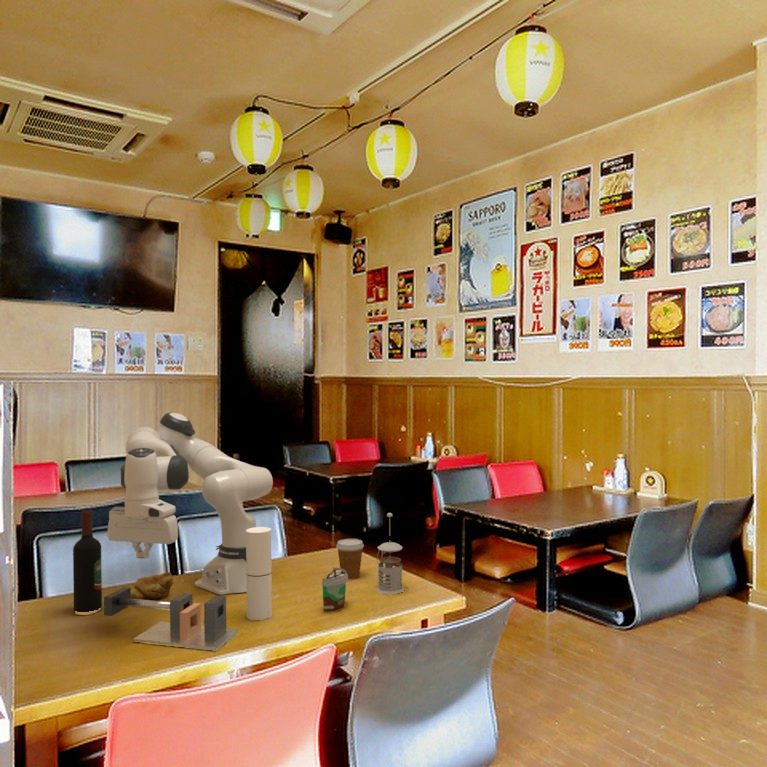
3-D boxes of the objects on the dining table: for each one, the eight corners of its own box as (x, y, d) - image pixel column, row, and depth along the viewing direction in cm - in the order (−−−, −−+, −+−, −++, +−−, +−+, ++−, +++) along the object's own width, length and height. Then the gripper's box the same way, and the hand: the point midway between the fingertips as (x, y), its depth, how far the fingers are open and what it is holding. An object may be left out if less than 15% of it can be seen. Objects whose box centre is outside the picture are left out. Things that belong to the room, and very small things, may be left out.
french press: (384, 596, 196) (384, 517, 196) (367, 586, 206) (366, 510, 206) (411, 591, 201) (410, 513, 200) (392, 581, 211) (391, 507, 211)
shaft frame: (133, 642, 163) (132, 601, 163) (160, 625, 175) (160, 586, 174) (216, 651, 157) (215, 608, 157) (238, 632, 169) (238, 592, 169)
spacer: (180, 639, 162) (179, 612, 162) (194, 628, 169) (194, 603, 169) (186, 640, 162) (186, 613, 162) (201, 629, 169) (200, 603, 169)
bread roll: (132, 606, 189) (132, 580, 189) (124, 597, 197) (124, 572, 197) (175, 597, 197) (175, 572, 197) (166, 589, 205) (166, 565, 205)
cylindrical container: (250, 622, 176) (249, 533, 176) (244, 614, 182) (243, 528, 182) (275, 617, 179) (274, 530, 179) (267, 609, 186) (266, 525, 185)
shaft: (103, 615, 167) (103, 596, 167) (123, 604, 175) (123, 587, 175) (171, 622, 162) (171, 602, 162) (188, 610, 170) (188, 592, 170)
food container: (342, 614, 181) (342, 580, 181) (322, 613, 182) (321, 579, 182) (352, 599, 193) (352, 567, 193) (333, 598, 194) (333, 566, 194)
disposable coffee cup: (352, 570, 223) (351, 537, 223) (369, 576, 216) (369, 541, 216) (331, 576, 217) (330, 541, 217) (348, 582, 210) (348, 547, 210)
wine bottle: (74, 608, 188) (73, 509, 188) (102, 604, 191) (101, 506, 191) (73, 617, 181) (71, 514, 181) (101, 613, 184) (100, 511, 184)
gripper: (101, 508, 171) (102, 558, 172) (167, 511, 166) (168, 563, 167) (116, 504, 178) (117, 552, 178) (180, 507, 173) (181, 556, 173)
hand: (142, 557), depth 172 cm, fingers closed
